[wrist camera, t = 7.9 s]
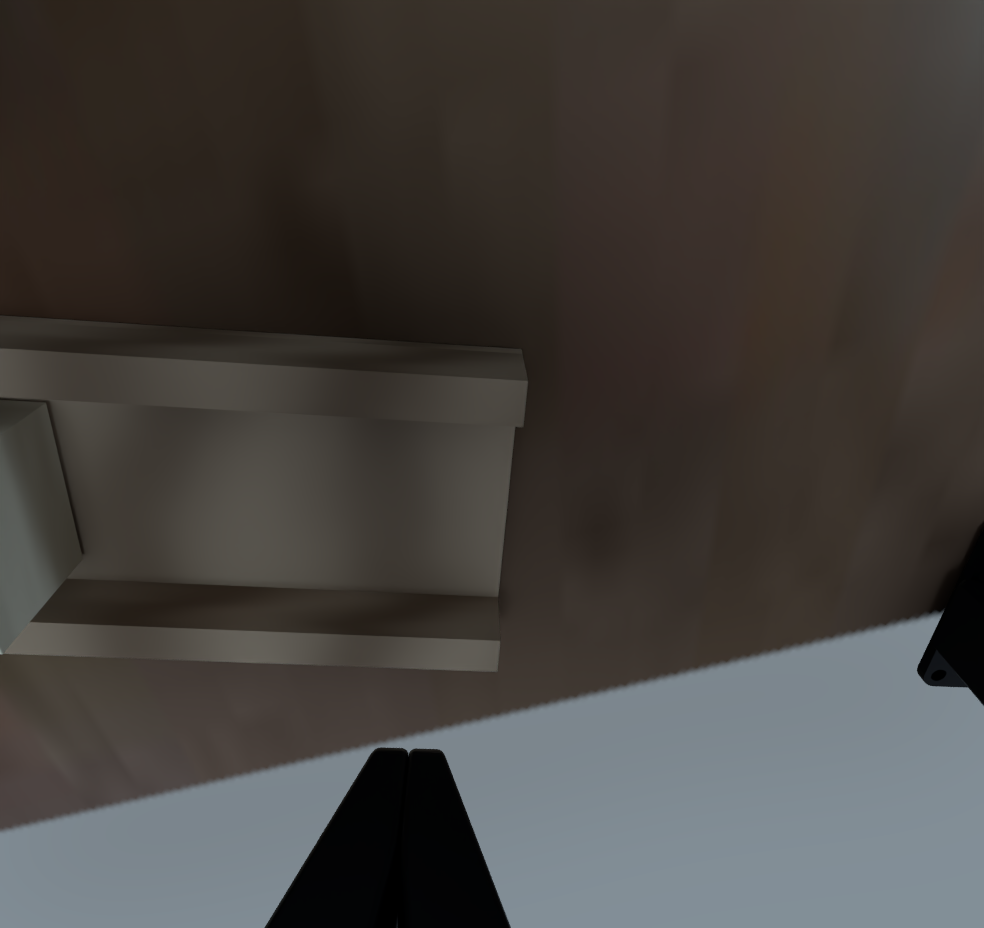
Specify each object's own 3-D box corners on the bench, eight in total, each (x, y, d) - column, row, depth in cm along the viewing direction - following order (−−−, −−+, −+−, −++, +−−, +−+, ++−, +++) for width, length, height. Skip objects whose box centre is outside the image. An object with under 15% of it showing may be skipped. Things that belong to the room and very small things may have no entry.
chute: (521, 349, 19) (527, 381, 16) (494, 618, 23) (497, 671, 21) (-274, 297, 17) (-378, 324, 15) (-147, 592, 22) (-214, 645, 20)
